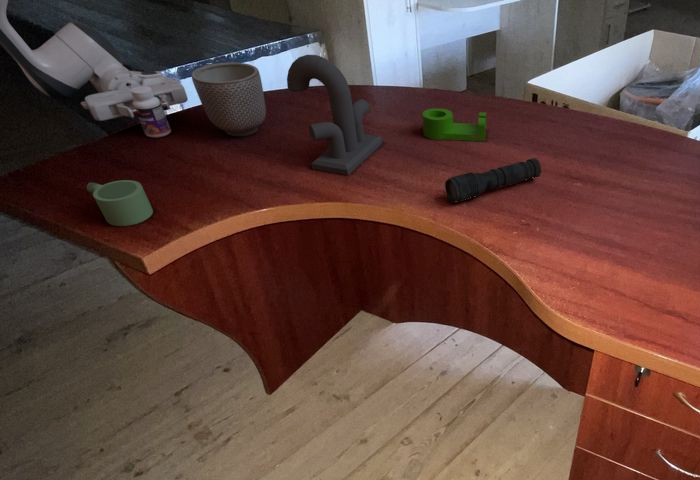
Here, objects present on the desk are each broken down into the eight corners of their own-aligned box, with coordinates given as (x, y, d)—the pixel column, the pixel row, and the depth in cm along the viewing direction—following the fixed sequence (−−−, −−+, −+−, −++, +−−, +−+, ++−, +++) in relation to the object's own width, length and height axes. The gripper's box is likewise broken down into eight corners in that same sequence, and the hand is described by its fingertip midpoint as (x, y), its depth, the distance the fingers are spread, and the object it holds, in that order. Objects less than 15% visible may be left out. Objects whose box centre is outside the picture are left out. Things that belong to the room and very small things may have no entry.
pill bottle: (140, 136, 122) (120, 91, 115) (156, 127, 126) (138, 83, 119) (161, 139, 121) (142, 94, 115) (176, 130, 125) (160, 86, 118)
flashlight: (444, 197, 108) (443, 173, 105) (527, 174, 117) (529, 152, 114) (457, 208, 105) (456, 184, 102) (541, 183, 114) (543, 161, 111)
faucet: (323, 131, 128) (305, 38, 114) (383, 142, 125) (373, 48, 112) (280, 163, 115) (255, 63, 102) (347, 176, 113) (330, 74, 99)
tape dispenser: (421, 138, 128) (420, 119, 125) (425, 126, 133) (424, 107, 130) (484, 141, 128) (485, 122, 125) (485, 129, 133) (486, 110, 130)
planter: (216, 120, 130) (197, 62, 121) (276, 118, 133) (262, 61, 124) (205, 144, 121) (184, 83, 112) (270, 141, 123) (254, 82, 114)
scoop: (162, 211, 100) (151, 185, 96) (126, 230, 95) (113, 204, 91) (116, 195, 103) (104, 170, 100) (79, 213, 98) (65, 187, 95)
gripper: (71, 87, 118) (92, 106, 112) (166, 69, 129) (191, 85, 123) (85, 116, 123) (106, 136, 116) (176, 96, 134) (200, 113, 127)
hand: (150, 110), depth 119 cm, fingers closed on pill bottle, 5 cm apart
